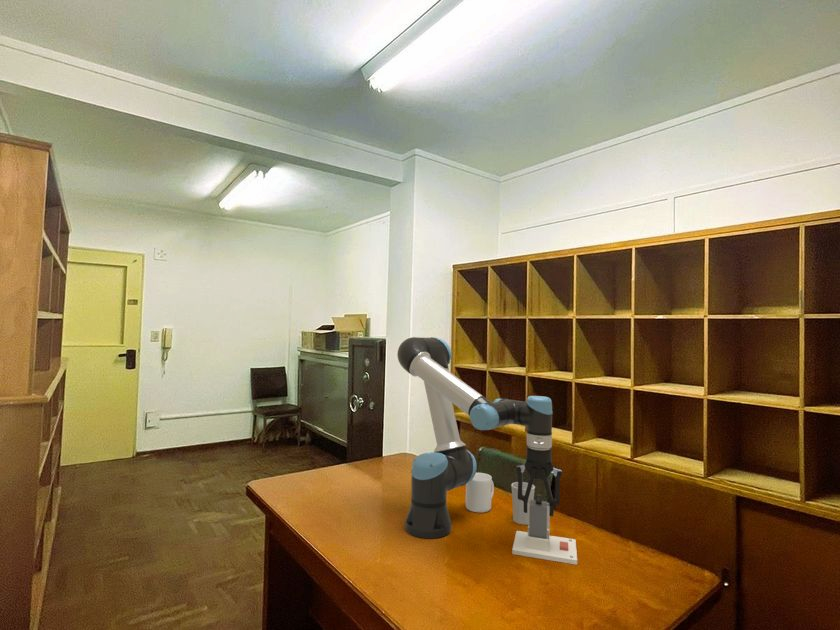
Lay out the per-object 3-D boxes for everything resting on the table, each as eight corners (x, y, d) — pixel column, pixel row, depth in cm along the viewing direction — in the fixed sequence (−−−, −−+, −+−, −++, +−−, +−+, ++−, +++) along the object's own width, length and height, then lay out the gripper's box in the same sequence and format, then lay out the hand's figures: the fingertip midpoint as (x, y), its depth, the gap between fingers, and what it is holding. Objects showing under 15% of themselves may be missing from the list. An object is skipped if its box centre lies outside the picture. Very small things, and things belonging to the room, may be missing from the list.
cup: (534, 526, 151) (535, 490, 152) (510, 524, 153) (511, 488, 153) (533, 517, 159) (534, 483, 159) (510, 515, 160) (511, 481, 161)
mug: (460, 508, 166) (460, 476, 167) (478, 500, 175) (479, 469, 175) (481, 515, 160) (482, 482, 160) (499, 506, 168) (500, 475, 169)
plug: (529, 539, 134) (529, 496, 135) (530, 532, 139) (530, 491, 140) (546, 541, 133) (547, 499, 133) (546, 534, 137) (547, 493, 138)
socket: (512, 554, 131) (512, 539, 131) (516, 534, 145) (516, 521, 145) (577, 564, 126) (577, 549, 126) (575, 543, 139) (575, 529, 139)
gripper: (508, 447, 136) (506, 525, 135) (570, 453, 131) (569, 534, 130) (510, 442, 144) (509, 516, 142) (569, 447, 138) (569, 524, 137)
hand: (538, 524), depth 136 cm, fingers closed on plug, 5 cm apart
